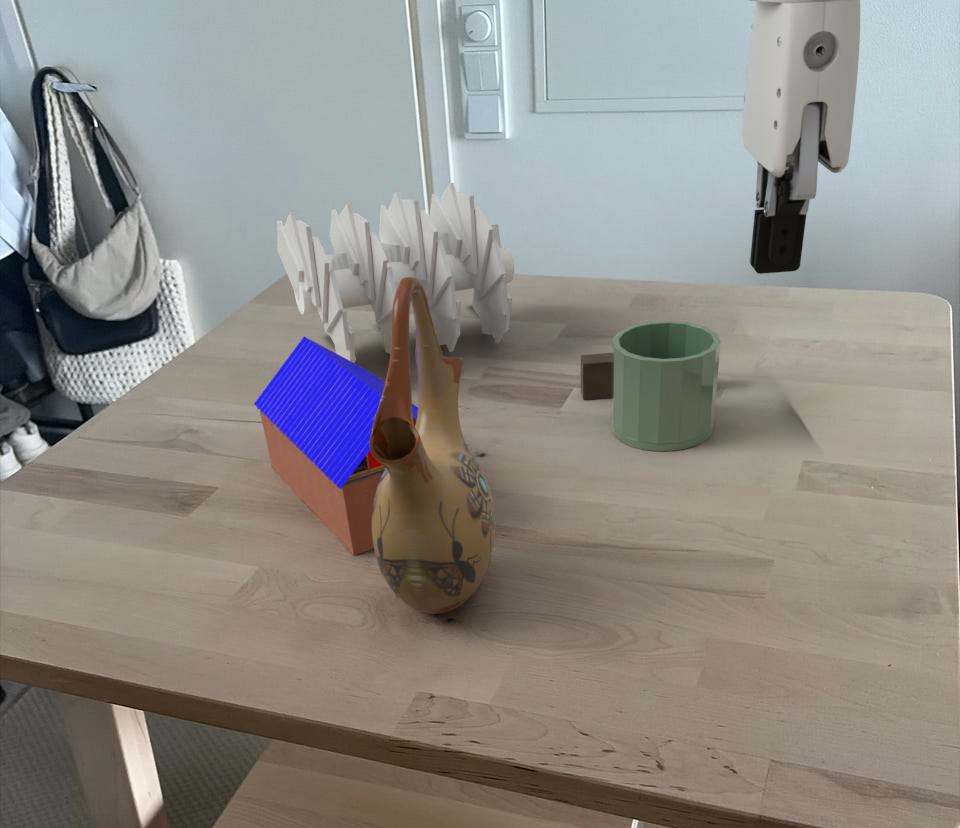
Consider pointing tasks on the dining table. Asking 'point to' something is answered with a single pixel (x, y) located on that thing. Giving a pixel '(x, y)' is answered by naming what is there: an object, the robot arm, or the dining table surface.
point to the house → (326, 438)
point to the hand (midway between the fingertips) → (774, 268)
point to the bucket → (664, 384)
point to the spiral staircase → (401, 266)
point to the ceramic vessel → (427, 473)
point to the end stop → (596, 376)
